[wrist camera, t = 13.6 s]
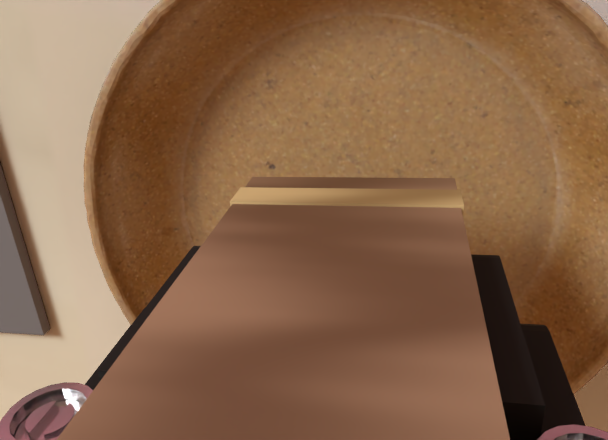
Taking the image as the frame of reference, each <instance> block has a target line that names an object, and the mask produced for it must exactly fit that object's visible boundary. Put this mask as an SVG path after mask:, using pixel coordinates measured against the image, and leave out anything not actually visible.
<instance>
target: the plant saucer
mask: <svg viewBox="0 0 608 440" xmlns="http://www.w3.org/2000/svg"><path fill="white" fill-rule="evenodd" d="M252 177H366V178H455V181H456V186H457V190H461V194H462V199H463V203H464V213H463V219H464V224H465V229H466V233H467V238H468V243H469V247H470V252H471V254H473V255H499V256H500V258H501V262H502V265H503V268H504V271H505V275H506V278H507V281H508V285H509V288H510V291H511V294H512V298H513V301H514V304H515V307H516V311H517V314H518V317H519V320H520V323H521V324H540V325H545V326H547V328H548V329H549V331H550V334H551V337H552V339H553V342H554V344H555V347H556V350H557V352H558V355H559V358H560V360H561V363H562V366H563V368H564V371H565V373H566V376H567V379H568V381H569V384H570V387H571V389H572V392H573V394H574V393H576V392H577V391H578V390H579V389H580V388H582V387H583V386H584V385H585V384H586V383H587V382H588V381H590V380H591V379H592V378H593V377H594V376H595V375H596V374H597V373H598V371H599V370H600V369H601V368H602V367H603V366H604V365H606V364H607V363H608V26H607V25H606V23H605V22H604V21H603V20H602V18H601V17H600V16H599V15H598V14H597V13H596V12H595V11H594V10H593V9H592V8H591V7H590V6H589V5H588V4H587V3H585V2H583V1H582V0H161V1H160V2H159V3H158V4H157V5H155V6H154V7H153V8H152V9H151V10H150V11H149V12H148V14H147V15H146V16H145V17H144V19H143V20H142V21H141V22H140V24H139V25H138V26H137V28H136V29H135V30H134V31H133V32H132V33H131V35H130V37H129V38H128V40H127V41H126V43H125V44H124V46H123V47H122V49H121V51H120V52H119V54H118V55H117V57H116V58H115V60H114V62H113V63H112V66H111V68H110V70H109V72H108V74H107V76H106V79H105V81H104V83H103V86H102V88H101V91H100V93H99V96H98V99H97V102H96V105H95V108H94V111H93V114H92V117H91V121H90V126H89V130H88V134H87V141H86V148H85V159H84V193H85V206H86V209H87V220H88V225H89V228H90V231H91V237H92V242H93V246H94V249H95V253H96V255H97V258H98V260H99V263H100V266H101V268H102V271H103V274H104V276H105V279H106V281H107V284H108V286H109V288H110V290H111V292H112V294H113V296H114V298H115V300H116V301H117V303H118V304H119V306H120V308H121V310H122V312H123V314H124V315H125V317H126V318H127V320H128V321H129V323H130V324H131V325H132V323H133V322H134V321H135V319H136V318H137V317H138V316H139V314H140V313H141V312H142V310H143V309H144V308H145V307H146V306H147V305H148V304H149V302H150V301H151V300H152V298H153V297H154V296H155V295H156V293H157V292H158V291H159V289H160V288H161V287H162V286H163V284H164V283H165V282H166V280H167V279H168V278H169V276H170V275H171V274H172V273H173V271H174V270H175V269H176V267H177V266H178V265H179V264H180V262H181V261H182V260H183V258H184V257H185V256H186V254H187V253H188V252H189V251H190V249H191V248H192V247H193V246H201V245H202V244H203V243H204V241H205V240H206V239H207V237H208V236H209V235H210V233H211V232H212V231H213V229H214V228H215V227H216V225H217V224H218V222H219V221H220V220H221V218H222V217H223V216H224V214H225V213H226V212H227V210H228V209H229V208H230V201H231V199H232V198H233V197H234V195H235V194H236V193H237V191H238V190H239V189H240V188H241V187H245V186H246V185H247V184H248V182H249V181H250V180H251V178H252Z"/></svg>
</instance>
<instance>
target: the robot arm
mask: <svg viewBox="0 0 608 440" xmlns="http://www.w3.org/2000/svg"><path fill="white" fill-rule="evenodd" d="M200 247H201V246H193V247H192V248H191V249H190V251H189V252H188V253H187V254H186V256H185V257H184V258H183V260H182V261H181V262H180V264H179V265H178V266H177V267H176V269H175V270H174V271H173V273H172V274H171V275H170V276H169V278H168V279H167V280H166V282H165V283H164V284H163V286H162V287H161V288H160V289H159V291H158V292H157V293H156V295H155V296H154V297H153V298H152V300H151V301H150V302H149V304H148V305H147V306H146V307H145V308H144V309H143V310H142V312H141V313H140V314H139V316H138V317H137V318H136V319H135V321H134V322H133V323H132V325H131V326H130V327H129V328H128V330H127V331H126V332H125V334H124V335H123V336H122V337H121V339H120V340H119V341H118V343H117V344H116V345H115V346H114V348H113V349H112V350H111V352H110V353H109V354H108V355H107V357H106V358H105V359H104V361H103V362H102V363H101V365H100V366H99V367H98V368H97V370H96V371H95V372H94V374H93V375H92V376H91V377H90V379H89V380H88V381H87V383H86V384H85V385H83V384H80V383H60V384H54V385H50V386H47V387H44V388H42V389H39V390H36V391H34V392H33V393H31V394H29V395H27V396H25V397H24V398H22V399H21V400H20V401H18V402H17V403H16V404H15V405H13V406H12V407H11V408H10V409H9V411H8V412H7V413H6V414H5V416H4V417H3V418H2V420H1V421H0V440H57V438H58V437H59V436H60V434H61V433H62V432H63V430H64V429H65V428H66V426H67V425H68V424H69V422H70V421H71V420H72V418H73V417H74V416H75V414H76V413H77V412H78V410H79V409H80V408H81V406H82V405H83V403H84V402H85V401H86V399H87V398H88V397H89V395H90V394H91V393H92V391H93V390H94V389H95V387H96V386H97V385H98V383H99V382H100V381H101V379H102V378H103V377H104V375H105V374H106V373H107V371H108V370H109V369H110V367H111V366H112V365H113V363H114V362H115V361H116V359H117V358H118V357H119V355H120V354H121V353H122V351H123V350H124V349H125V347H126V346H127V345H128V343H129V342H130V340H131V339H132V338H133V336H134V335H135V334H136V332H137V331H138V330H139V328H140V327H141V326H142V324H143V323H144V322H145V320H146V319H147V318H148V316H149V315H150V314H151V312H152V311H153V310H154V308H155V307H156V306H157V304H158V303H159V302H160V300H161V299H162V298H163V296H164V295H165V294H166V292H167V291H168V290H169V288H170V287H171V286H172V284H173V283H174V281H175V280H176V279H177V277H178V276H179V275H180V273H181V272H182V271H183V269H184V268H185V267H186V265H187V264H188V263H189V261H190V260H191V259H192V257H193V256H194V255H195V253H196V252H197V251H198V249H199V248H200ZM471 257H472V262H473V266H474V271H475V276H476V281H477V285H478V290H479V295H480V300H481V304H482V309H483V314H484V318H485V323H486V328H487V333H488V337H489V342H490V347H491V352H492V356H493V361H494V366H495V371H496V375H497V380H498V385H499V389H500V394H501V399H502V404H503V408H504V413H505V418H506V423H507V427H508V432H509V437H510V440H608V432H605V431H602V430H599V429H596V428H593V427H589V426H585V424H584V421H583V418H582V416H581V413H580V410H579V408H578V405H577V403H576V400H575V397H574V395H573V392H572V389H571V387H570V384H569V381H568V379H567V376H566V373H565V371H564V368H563V366H562V363H561V360H560V358H559V355H558V352H557V350H556V347H555V344H554V342H553V339H552V337H551V334H550V331H549V329H548V328H547V326H545V325H540V324H521V323H520V320H519V317H518V314H517V311H516V307H515V304H514V301H513V298H512V294H511V291H510V288H509V285H508V281H507V278H506V275H505V271H504V268H503V265H502V262H501V258H500V256H499V255H473V254H471Z"/></svg>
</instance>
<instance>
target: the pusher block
mask: <svg viewBox="0 0 608 440" xmlns="http://www.w3.org/2000/svg"><path fill="white" fill-rule="evenodd" d="M463 213H464V203H463V199H462V194H461V190H457V186H456V181H455V178H366V177H252V178H251V180H250V181H249V182H248V184H247V185H246V186H245V187H241V188H240V189H239V190H238V191H237V193H236V194H235V195H234V197H233V198H232V199H231V201H230V208H229V209H228V210H227V212H226V213H225V214H224V216H223V217H222V218H221V220H220V221H219V222H218V224H217V225H216V227H215V228H214V229H213V231H212V232H211V233H210V235H209V236H208V237H207V239H206V240H205V241H204V243H203V244H202V245H201V247H200V248H199V249H198V251H197V252H196V253H195V255H194V256H193V257H192V259H191V260H190V261H189V263H188V264H187V265H186V267H185V268H184V269H183V271H182V272H181V273H180V275H179V276H178V277H177V279H176V280H175V281H174V283H173V284H172V286H171V287H170V288H169V290H168V291H167V292H166V294H165V295H164V296H163V298H162V299H161V300H160V302H159V303H158V304H157V306H156V307H155V308H154V310H153V311H152V312H151V314H150V315H149V316H148V318H147V319H146V320H145V322H144V323H143V324H142V326H141V327H140V328H139V330H138V331H137V332H136V334H135V335H134V336H133V338H132V339H131V340H130V342H129V343H128V345H127V346H126V347H125V349H124V350H123V351H122V353H121V354H120V355H119V357H118V358H117V359H116V361H115V362H114V363H113V365H112V366H111V367H110V369H109V370H108V371H107V373H106V374H105V375H104V377H103V378H102V379H101V381H100V382H99V383H98V385H97V386H96V387H95V389H94V390H93V391H92V393H91V394H90V395H89V397H88V398H87V399H86V401H85V402H84V403H83V405H82V406H81V408H80V409H79V410H78V412H77V413H76V414H75V416H74V417H73V418H72V420H71V421H70V422H69V424H68V425H67V426H66V428H65V429H64V430H63V432H62V433H61V434H60V436H59V437H58V438H57V440H510V437H509V432H508V427H507V423H506V418H505V413H504V408H503V404H502V399H501V394H500V389H499V385H498V380H497V375H496V371H495V366H494V361H493V356H492V352H491V347H490V342H489V337H488V333H487V328H486V323H485V318H484V314H483V309H482V304H481V300H480V295H479V290H478V285H477V281H476V276H475V271H474V266H473V262H472V257H471V252H470V247H469V243H468V238H467V233H466V229H465V224H464V219H463Z"/></svg>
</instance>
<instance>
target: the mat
mask: <svg viewBox="0 0 608 440" xmlns="http://www.w3.org/2000/svg"><path fill="white" fill-rule="evenodd" d="M49 330H50V326H49V323H48V319H47V316H46V313H45V309H44V306H43V303H42V299H41V296H40V293H39V290H38V286H37V283H36V280H35V276H34V273H33V270H32V266H31V263H30V260H29V257H28V253H27V250H26V247H25V243H24V240H23V237H22V233H21V230H20V227H19V223H18V220H17V217H16V214H15V210H14V207H13V204H12V200H11V197H10V194H9V190H8V187H7V184H6V180H5V177H4V174H3V171H2V167H1V164H0V332H2V333H17V334H33V335H45V334H46V333H47V332H48V331H49Z"/></svg>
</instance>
